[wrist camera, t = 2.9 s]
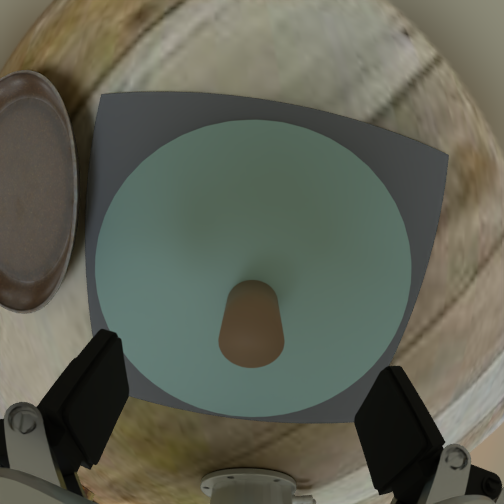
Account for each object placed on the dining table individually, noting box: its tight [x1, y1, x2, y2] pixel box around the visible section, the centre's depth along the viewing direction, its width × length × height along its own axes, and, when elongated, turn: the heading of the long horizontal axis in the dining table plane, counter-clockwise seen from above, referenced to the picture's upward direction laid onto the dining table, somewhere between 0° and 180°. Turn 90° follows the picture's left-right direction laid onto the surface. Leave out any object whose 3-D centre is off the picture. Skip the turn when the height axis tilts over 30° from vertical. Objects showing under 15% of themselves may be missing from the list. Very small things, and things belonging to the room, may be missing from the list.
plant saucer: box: [0, 70, 80, 314], centre depth 15 cm, size 21×21×3 cm
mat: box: [85, 92, 449, 423], centre depth 18 cm, size 25×25×1 cm
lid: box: [95, 120, 411, 417], centre depth 15 cm, size 22×22×5 cm
